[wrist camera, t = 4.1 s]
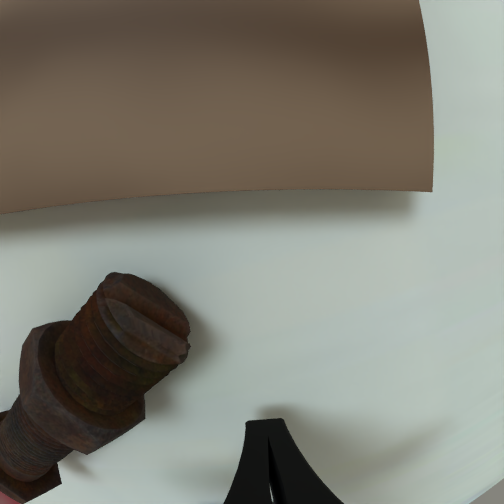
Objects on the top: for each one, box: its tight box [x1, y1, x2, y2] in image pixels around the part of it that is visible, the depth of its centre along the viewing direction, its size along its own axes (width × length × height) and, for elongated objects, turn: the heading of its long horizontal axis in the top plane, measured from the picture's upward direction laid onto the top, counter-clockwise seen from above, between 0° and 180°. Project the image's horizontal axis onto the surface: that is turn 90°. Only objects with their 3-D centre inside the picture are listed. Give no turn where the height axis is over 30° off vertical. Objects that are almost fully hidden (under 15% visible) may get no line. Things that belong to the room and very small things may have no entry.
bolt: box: [0, 272, 191, 504], centre depth 9 cm, size 6×5×15 cm
